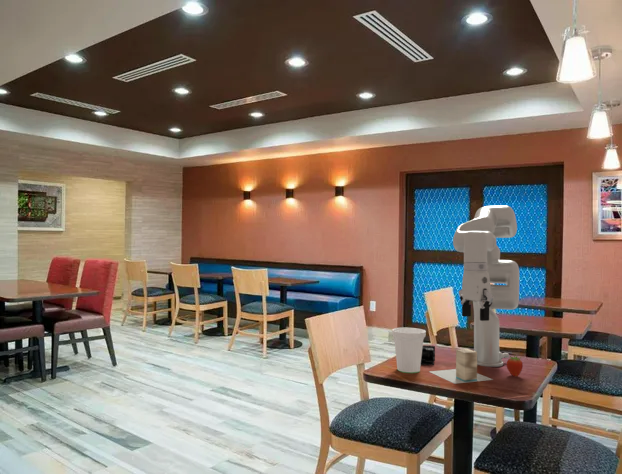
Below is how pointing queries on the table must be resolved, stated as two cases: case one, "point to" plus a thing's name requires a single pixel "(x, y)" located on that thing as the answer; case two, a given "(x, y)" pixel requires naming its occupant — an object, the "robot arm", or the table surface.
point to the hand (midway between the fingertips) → (475, 318)
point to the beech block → (466, 365)
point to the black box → (428, 355)
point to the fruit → (514, 366)
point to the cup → (408, 348)
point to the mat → (451, 376)
